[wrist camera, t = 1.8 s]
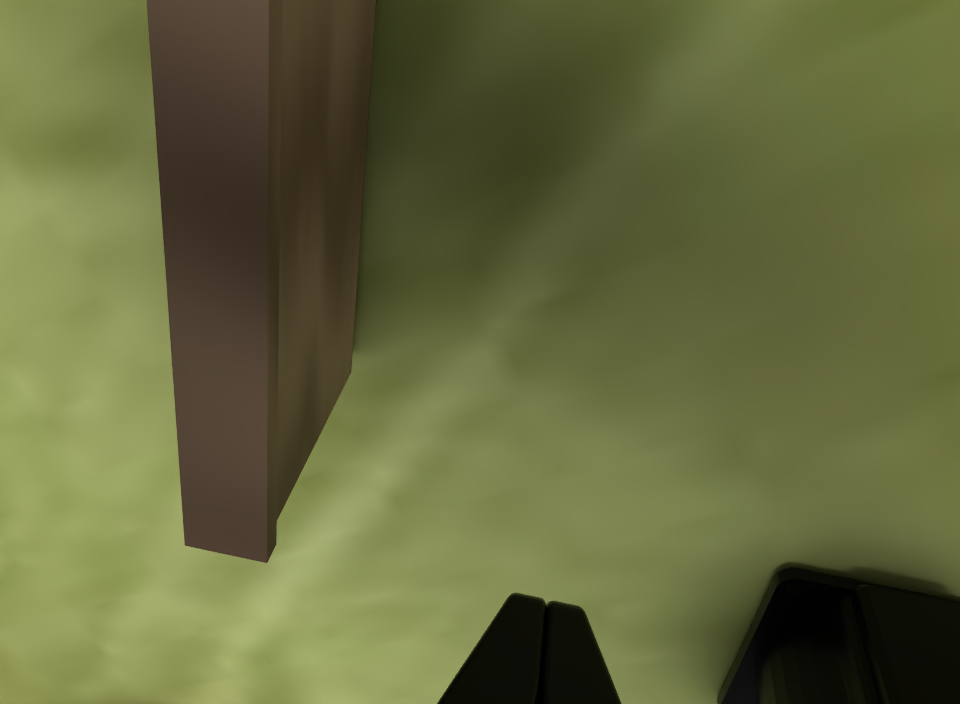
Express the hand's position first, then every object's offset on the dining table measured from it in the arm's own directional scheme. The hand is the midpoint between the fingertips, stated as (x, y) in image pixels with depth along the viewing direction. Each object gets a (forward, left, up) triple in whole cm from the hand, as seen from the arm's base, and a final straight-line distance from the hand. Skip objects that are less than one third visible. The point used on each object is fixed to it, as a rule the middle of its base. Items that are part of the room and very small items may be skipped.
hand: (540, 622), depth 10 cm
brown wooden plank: (+2, +6, -11) cm, 12 cm away
